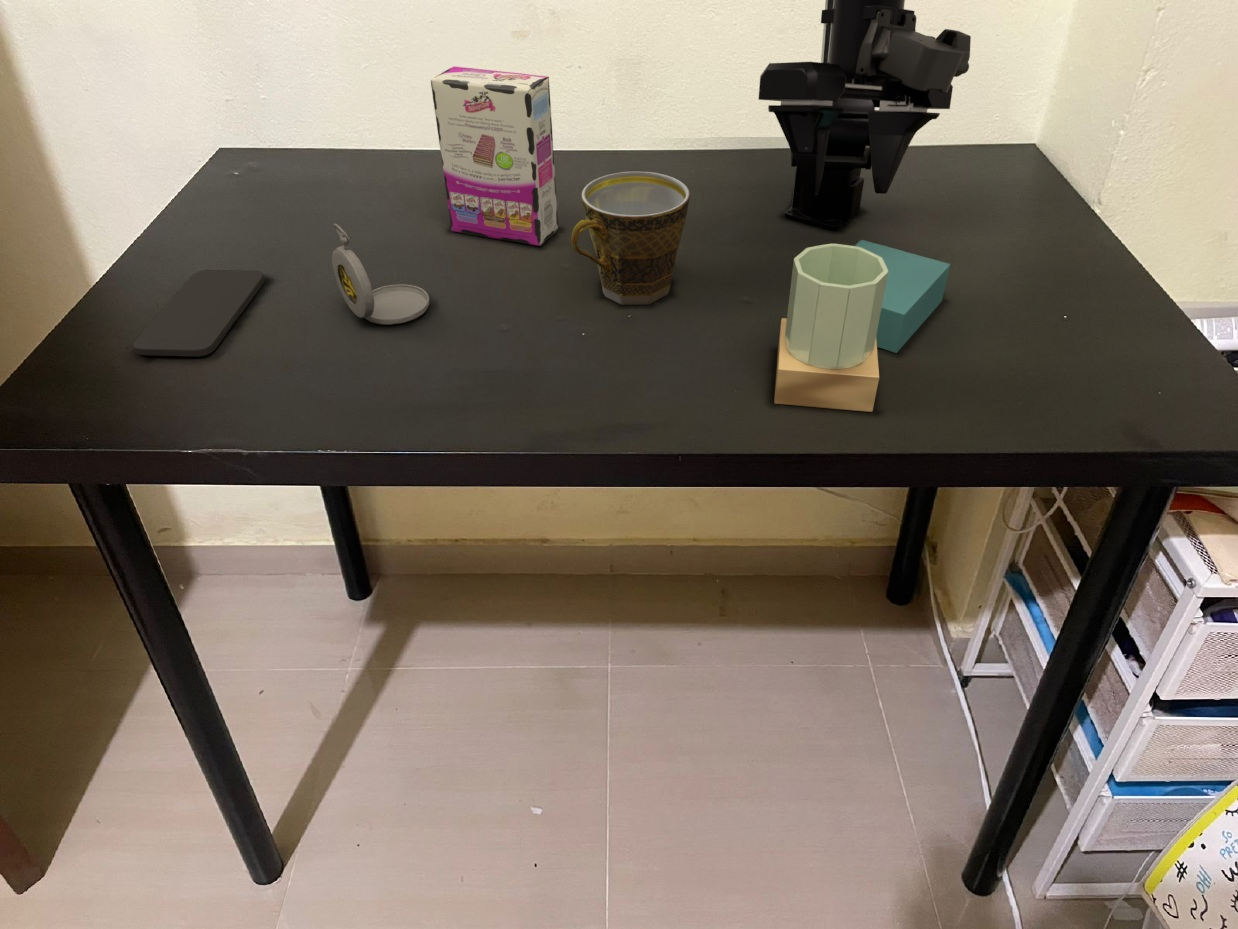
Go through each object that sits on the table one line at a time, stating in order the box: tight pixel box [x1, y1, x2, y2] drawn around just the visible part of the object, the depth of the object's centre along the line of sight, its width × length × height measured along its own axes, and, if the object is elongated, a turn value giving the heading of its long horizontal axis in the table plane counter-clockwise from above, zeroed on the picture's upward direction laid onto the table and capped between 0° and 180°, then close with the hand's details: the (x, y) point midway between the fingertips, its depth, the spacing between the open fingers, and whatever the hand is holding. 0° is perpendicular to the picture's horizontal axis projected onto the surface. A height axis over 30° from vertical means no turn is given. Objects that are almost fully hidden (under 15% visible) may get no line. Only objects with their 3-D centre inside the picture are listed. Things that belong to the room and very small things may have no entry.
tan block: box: [773, 317, 880, 413], centre depth 80 cm, size 8×8×4 cm
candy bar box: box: [430, 66, 559, 247], centre depth 98 cm, size 11×5×16 cm, turn 68°
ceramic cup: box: [570, 171, 691, 306], centre depth 89 cm, size 13×10×10 cm
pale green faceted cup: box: [785, 243, 888, 369], centre depth 76 cm, size 7×7×8 cm
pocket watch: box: [331, 222, 430, 326], centre depth 87 cm, size 8×8×10 cm
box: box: [854, 239, 951, 354], centre depth 88 cm, size 9×11×4 cm
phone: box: [132, 269, 266, 357], centre depth 90 cm, size 7×1×15 cm
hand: (847, 193), depth 83 cm, fingers open, 9 cm apart
